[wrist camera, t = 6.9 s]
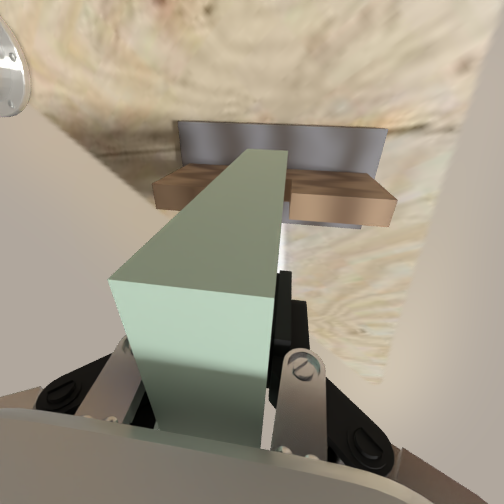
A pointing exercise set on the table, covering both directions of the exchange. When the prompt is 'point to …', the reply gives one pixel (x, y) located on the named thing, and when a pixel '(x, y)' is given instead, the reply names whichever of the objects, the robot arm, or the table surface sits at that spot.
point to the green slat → (209, 303)
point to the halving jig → (290, 170)
